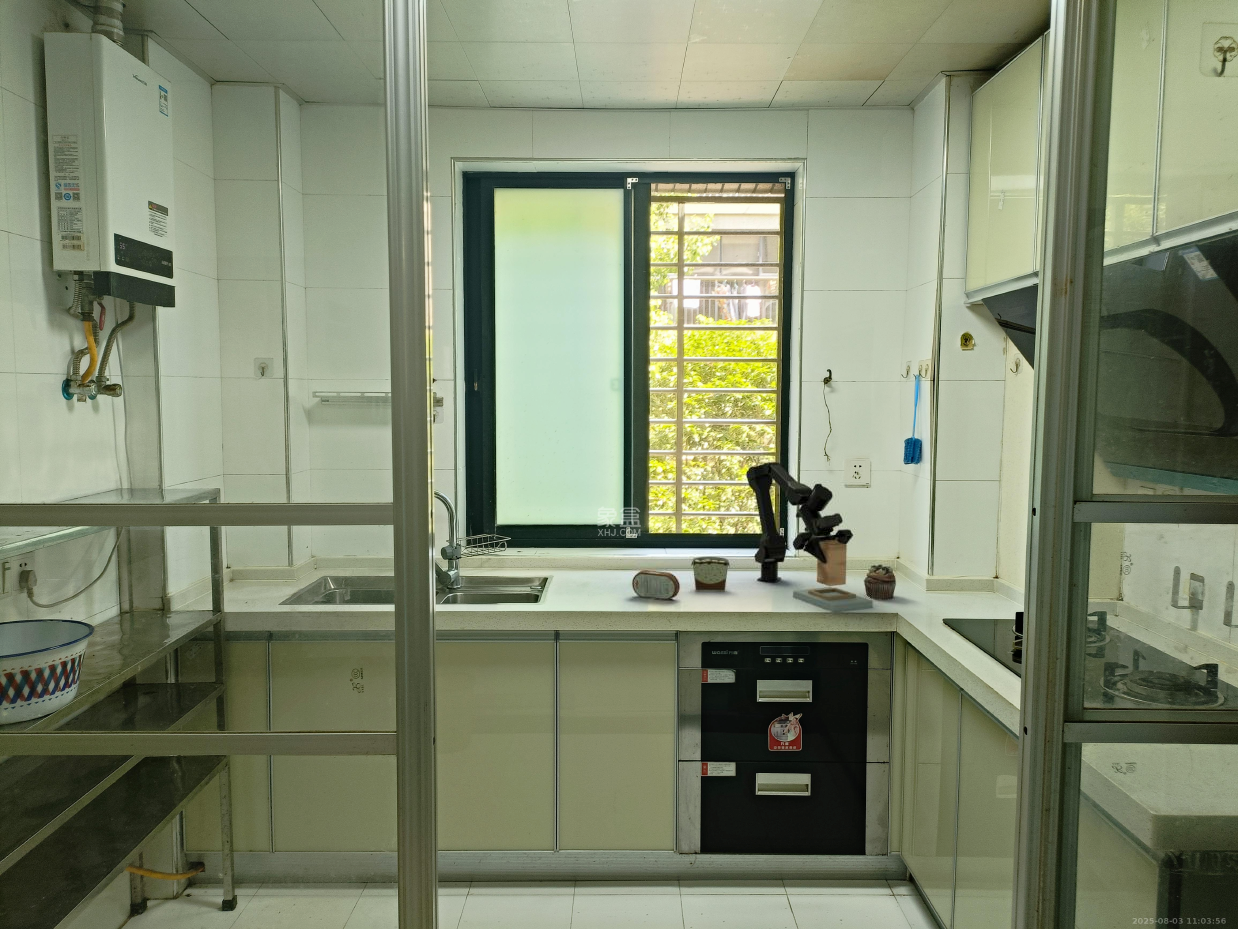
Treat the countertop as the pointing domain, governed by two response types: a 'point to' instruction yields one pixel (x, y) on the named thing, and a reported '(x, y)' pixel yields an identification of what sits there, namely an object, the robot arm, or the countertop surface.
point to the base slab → (833, 599)
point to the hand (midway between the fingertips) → (834, 562)
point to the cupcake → (880, 582)
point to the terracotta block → (832, 564)
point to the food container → (710, 573)
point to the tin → (655, 585)
